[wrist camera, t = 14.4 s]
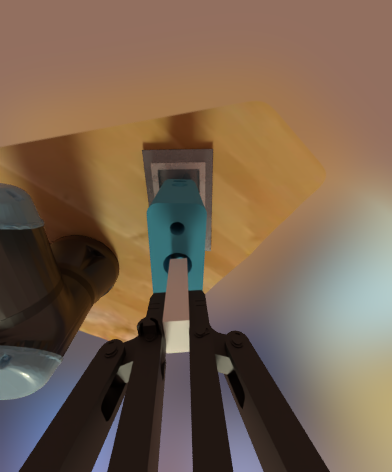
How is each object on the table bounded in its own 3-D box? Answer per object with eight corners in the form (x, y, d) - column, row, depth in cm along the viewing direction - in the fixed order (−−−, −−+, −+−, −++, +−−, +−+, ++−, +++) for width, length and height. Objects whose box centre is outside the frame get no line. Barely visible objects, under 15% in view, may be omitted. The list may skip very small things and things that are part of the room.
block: (166, 173, 33) (145, 202, 15) (194, 174, 33) (207, 203, 15) (168, 235, 38) (154, 312, 20) (192, 235, 38) (201, 311, 20)
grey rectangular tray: (155, 250, 40) (153, 258, 38) (143, 150, 32) (139, 150, 29) (210, 248, 41) (212, 255, 38) (212, 148, 33) (214, 148, 30)
